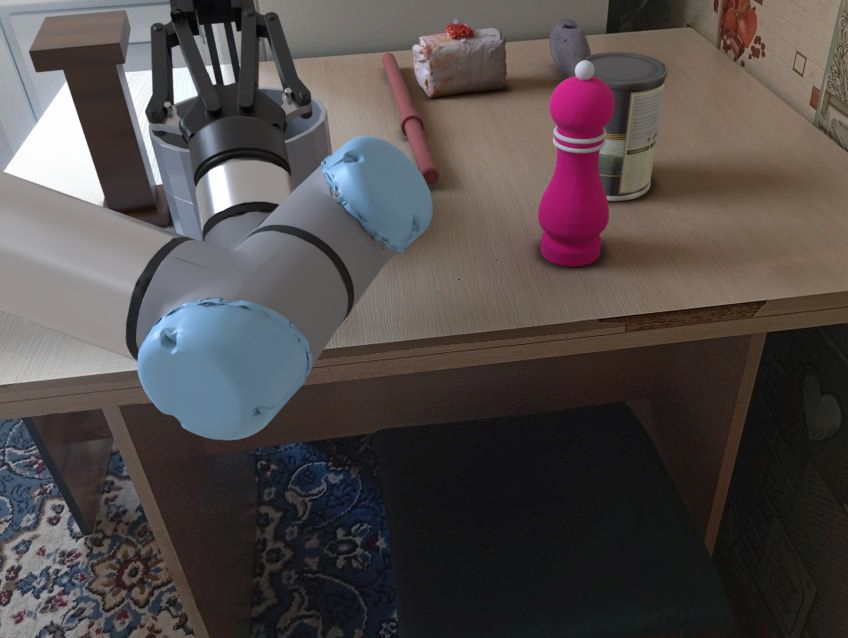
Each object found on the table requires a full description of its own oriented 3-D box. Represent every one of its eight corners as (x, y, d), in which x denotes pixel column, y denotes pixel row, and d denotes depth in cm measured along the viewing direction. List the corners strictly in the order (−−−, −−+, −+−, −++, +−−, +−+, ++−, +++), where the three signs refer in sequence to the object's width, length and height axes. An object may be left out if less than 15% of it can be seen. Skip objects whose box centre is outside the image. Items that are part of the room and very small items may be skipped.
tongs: (187, -31, 70) (188, -21, 68) (224, -34, 71) (226, -24, 69) (223, 132, 81) (225, 144, 80) (255, 128, 82) (257, 140, 80)
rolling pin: (443, 187, 96) (443, 163, 94) (418, 190, 95) (416, 165, 93) (398, 68, 131) (397, 48, 129) (379, 69, 130) (378, 50, 128)
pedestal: (104, 199, 94) (44, 16, 82) (173, 190, 96) (125, 9, 83) (97, 248, 85) (28, 51, 72) (173, 237, 87) (119, 42, 74)
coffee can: (575, 204, 92) (584, 84, 83) (559, 166, 100) (566, 53, 91) (661, 199, 92) (680, 79, 84) (638, 162, 100) (653, 49, 92)
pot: (157, 263, 83) (125, 156, 75) (197, 185, 97) (174, 89, 90) (330, 257, 83) (315, 150, 76) (345, 181, 97) (333, 85, 90)
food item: (423, 102, 118) (420, 34, 112) (412, 84, 124) (408, 19, 118) (510, 92, 121) (511, 26, 115) (494, 75, 127) (495, 11, 121)
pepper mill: (558, 228, 87) (570, 43, 75) (616, 247, 84) (639, 57, 72) (523, 256, 83) (530, 64, 70) (583, 277, 79) (602, 80, 67)
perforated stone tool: (597, 90, 121) (601, 43, 117) (564, 91, 121) (566, 45, 117) (576, 59, 133) (580, 16, 129) (546, 60, 133) (548, 17, 128)
